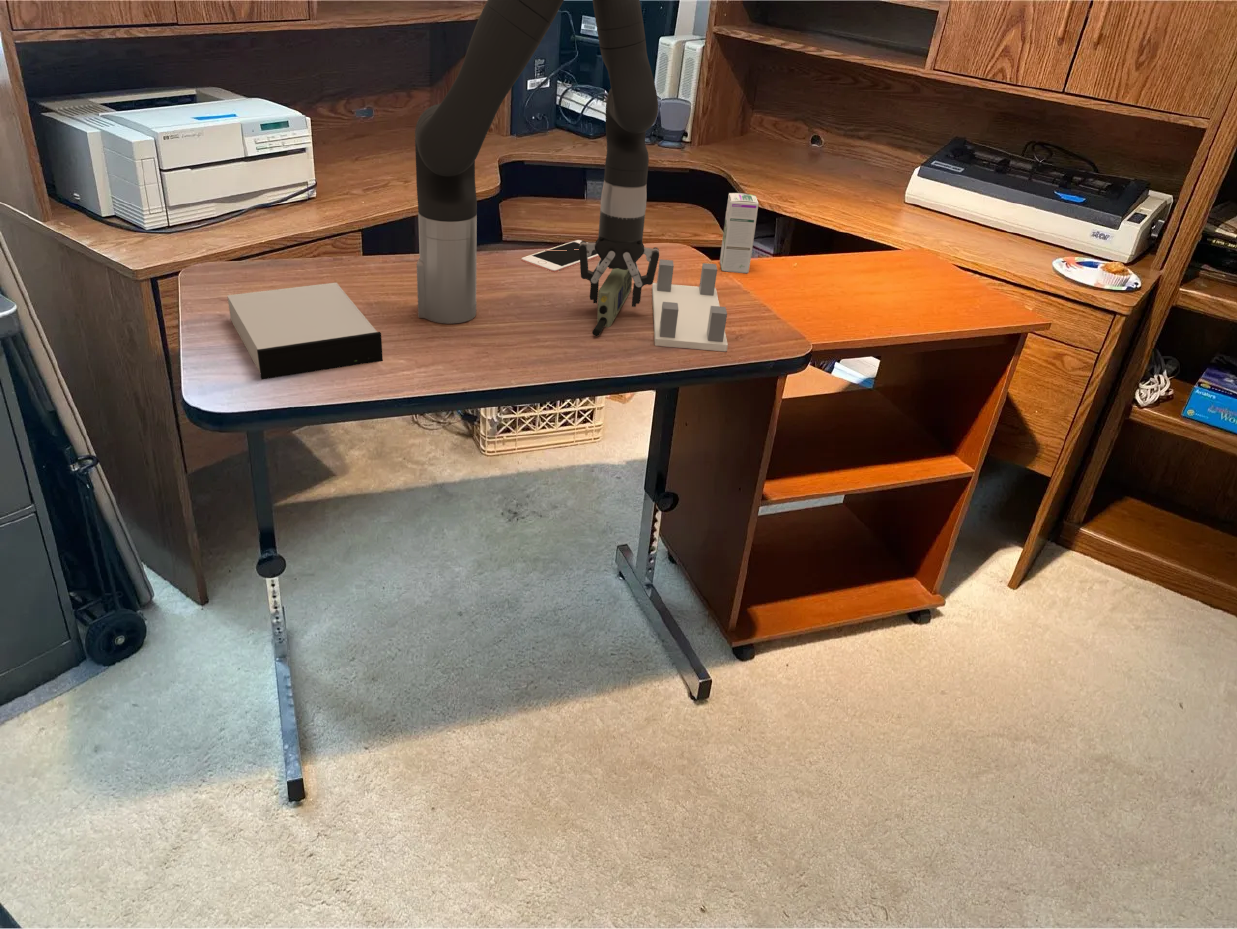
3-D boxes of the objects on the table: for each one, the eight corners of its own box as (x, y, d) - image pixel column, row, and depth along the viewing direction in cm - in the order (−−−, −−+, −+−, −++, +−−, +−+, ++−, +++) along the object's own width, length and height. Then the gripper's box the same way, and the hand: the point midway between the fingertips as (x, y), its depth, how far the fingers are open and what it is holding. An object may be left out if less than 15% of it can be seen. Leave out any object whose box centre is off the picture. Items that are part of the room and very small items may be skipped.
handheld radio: (633, 290, 174) (606, 341, 153) (616, 288, 175) (586, 339, 154) (635, 256, 171) (607, 303, 150) (618, 254, 171) (587, 301, 150)
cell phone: (520, 262, 182) (520, 257, 182) (578, 243, 195) (578, 239, 195) (554, 274, 178) (554, 270, 178) (611, 254, 191) (611, 250, 190)
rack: (654, 345, 153) (658, 310, 150) (652, 288, 175) (655, 257, 172) (726, 351, 153) (732, 316, 150) (714, 294, 175) (719, 262, 172)
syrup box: (749, 273, 187) (761, 202, 179) (720, 271, 187) (730, 199, 179) (746, 264, 192) (757, 194, 184) (717, 261, 192) (728, 191, 184)
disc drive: (262, 383, 132) (258, 351, 129) (229, 323, 148) (225, 293, 145) (383, 364, 140) (381, 333, 137) (339, 309, 156) (337, 280, 153)
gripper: (578, 211, 151) (572, 308, 159) (666, 219, 151) (655, 315, 160) (581, 199, 157) (575, 292, 166) (665, 206, 158) (654, 299, 166)
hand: (614, 303), depth 163 cm, fingers open, 6 cm apart
